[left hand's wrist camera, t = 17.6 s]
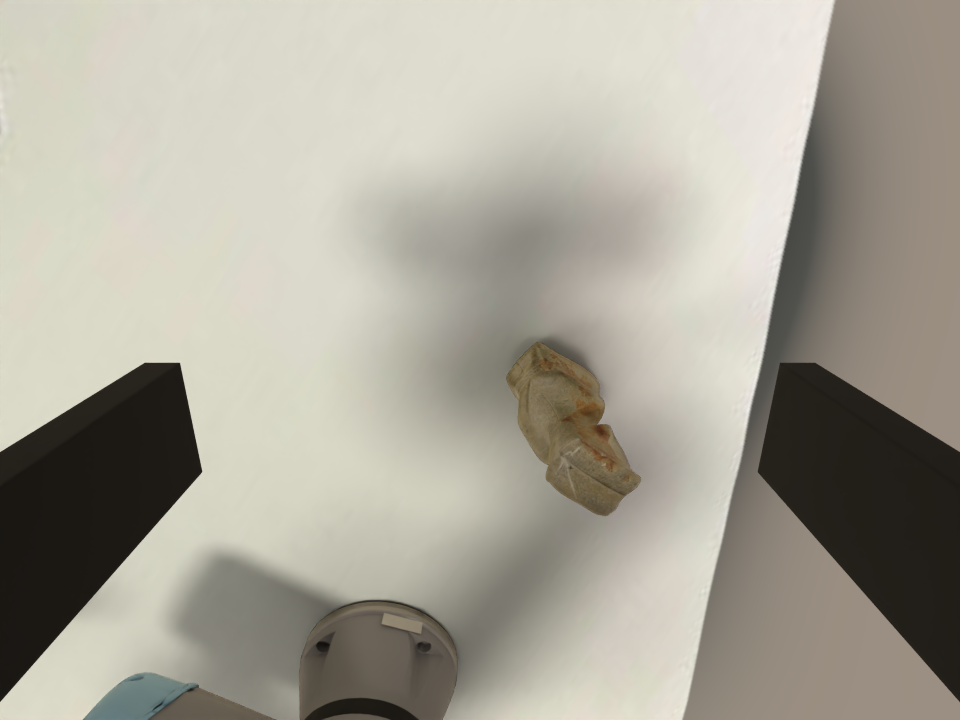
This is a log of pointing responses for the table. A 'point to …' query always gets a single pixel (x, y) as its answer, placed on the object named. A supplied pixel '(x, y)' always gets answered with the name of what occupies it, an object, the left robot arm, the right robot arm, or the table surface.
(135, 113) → the table surface
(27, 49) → the table surface
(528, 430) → the sculpture
